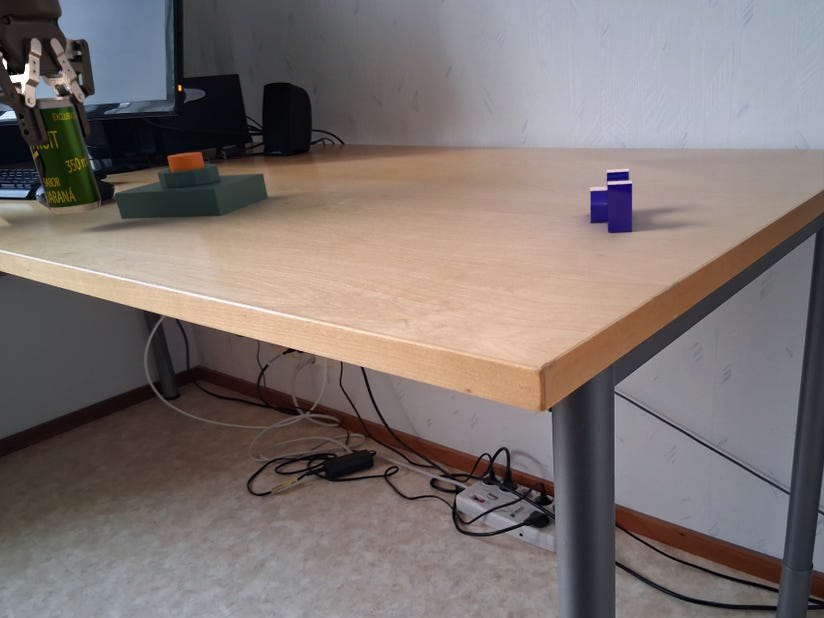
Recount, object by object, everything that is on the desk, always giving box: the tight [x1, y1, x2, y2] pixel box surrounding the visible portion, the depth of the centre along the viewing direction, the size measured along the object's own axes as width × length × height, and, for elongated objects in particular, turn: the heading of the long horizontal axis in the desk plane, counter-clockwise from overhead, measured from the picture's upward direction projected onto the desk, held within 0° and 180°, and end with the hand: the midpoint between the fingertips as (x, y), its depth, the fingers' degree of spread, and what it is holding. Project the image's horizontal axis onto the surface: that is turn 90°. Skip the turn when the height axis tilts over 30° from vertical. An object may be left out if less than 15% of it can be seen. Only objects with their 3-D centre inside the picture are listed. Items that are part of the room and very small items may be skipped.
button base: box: [114, 163, 269, 220], centre depth 88 cm, size 14×11×5 cm
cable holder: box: [589, 168, 633, 233], centre depth 62 cm, size 8×4×4 cm, turn 171°
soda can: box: [28, 96, 102, 215], centre depth 77 cm, size 5×5×12 cm
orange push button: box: [166, 151, 205, 171], centre depth 86 cm, size 4×4×2 cm
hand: (60, 141), depth 77 cm, fingers closed on soda can, 5 cm apart
